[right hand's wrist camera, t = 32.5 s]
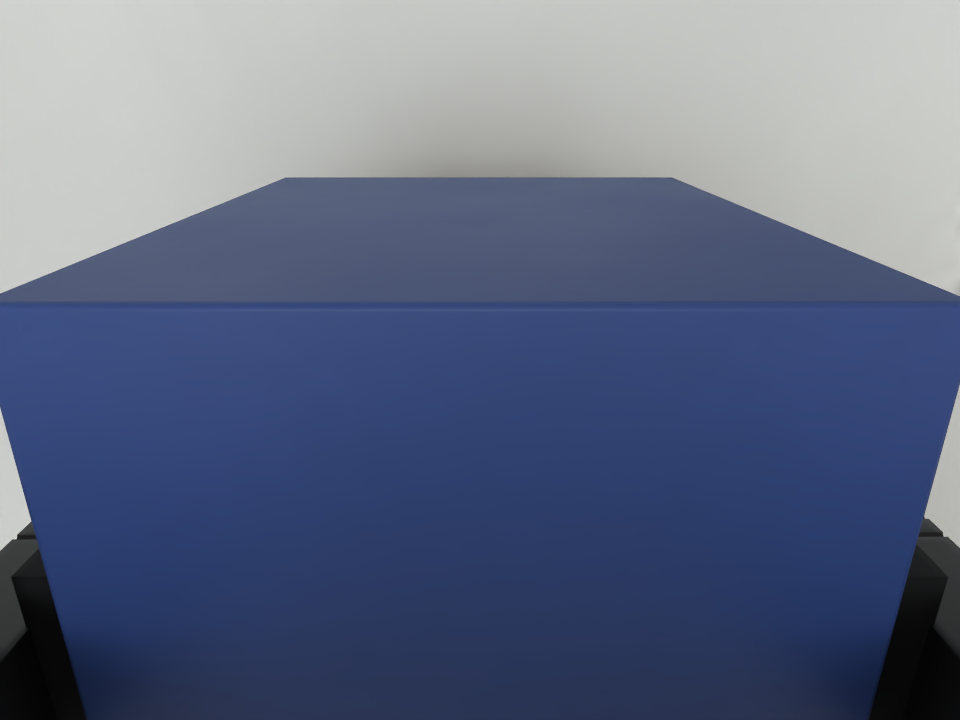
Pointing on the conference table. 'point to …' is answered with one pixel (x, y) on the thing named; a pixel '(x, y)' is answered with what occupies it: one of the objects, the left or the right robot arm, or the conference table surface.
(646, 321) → the block
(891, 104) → the conference table surface
